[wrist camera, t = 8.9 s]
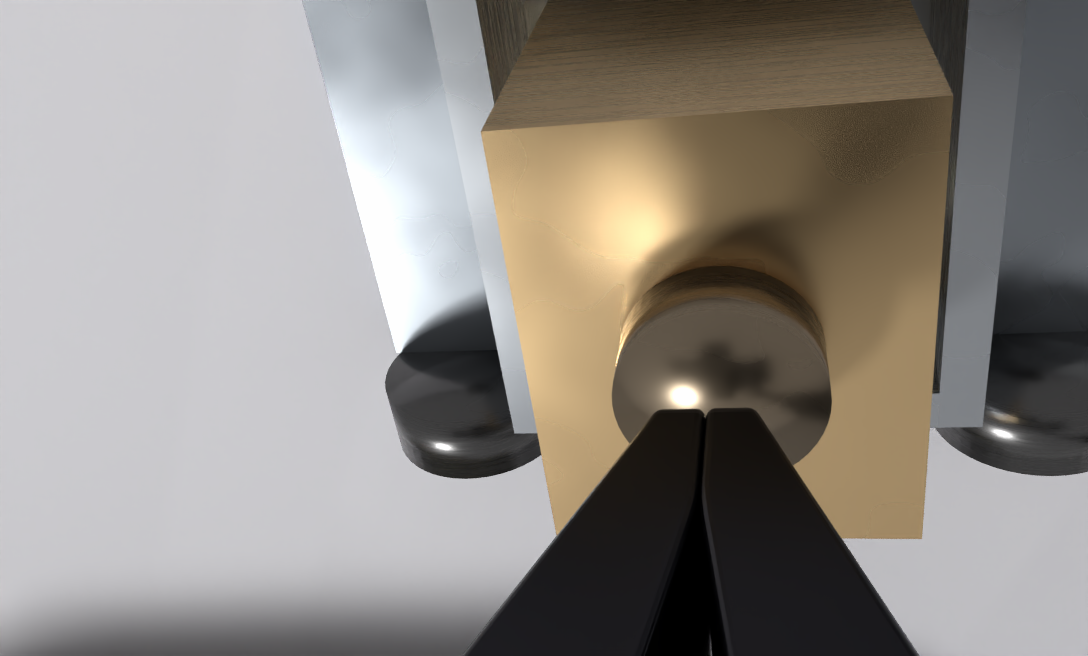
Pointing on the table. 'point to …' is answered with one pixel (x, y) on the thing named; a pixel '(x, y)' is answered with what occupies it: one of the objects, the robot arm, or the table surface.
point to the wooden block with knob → (729, 235)
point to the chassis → (480, 271)
